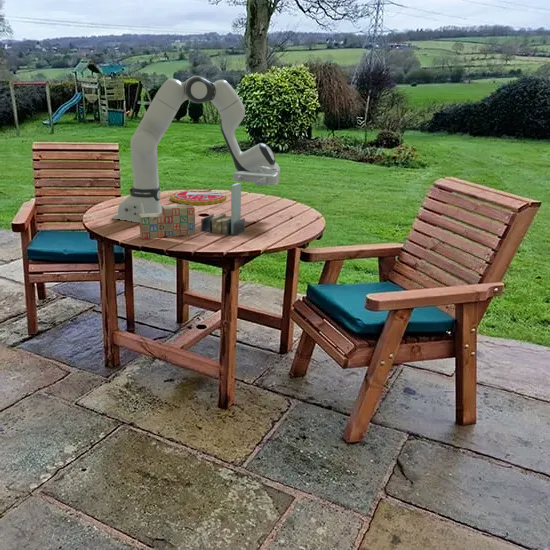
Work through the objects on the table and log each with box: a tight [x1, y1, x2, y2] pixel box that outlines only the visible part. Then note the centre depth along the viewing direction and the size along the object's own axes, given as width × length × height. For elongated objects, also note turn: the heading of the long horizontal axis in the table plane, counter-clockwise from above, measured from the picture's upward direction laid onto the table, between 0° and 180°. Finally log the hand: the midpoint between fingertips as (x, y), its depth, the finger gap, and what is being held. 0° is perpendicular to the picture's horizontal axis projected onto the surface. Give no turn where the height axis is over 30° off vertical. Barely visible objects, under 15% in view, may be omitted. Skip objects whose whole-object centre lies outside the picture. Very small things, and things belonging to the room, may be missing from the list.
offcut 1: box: [212, 213, 227, 234], centre depth 222 cm, size 2×9×6 cm, turn 159°
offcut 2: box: [215, 215, 231, 235], centre depth 221 cm, size 2×10×5 cm, turn 159°
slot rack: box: [200, 213, 248, 237], centre depth 221 cm, size 17×11×6 cm, turn 69°
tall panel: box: [230, 182, 242, 234], centre depth 217 cm, size 2×6×20 cm, turn 159°
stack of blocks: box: [139, 204, 196, 240], centre depth 213 cm, size 21×6×12 cm, turn 111°
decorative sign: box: [169, 189, 228, 206], centre depth 284 cm, size 30×3×30 cm
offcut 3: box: [222, 215, 231, 234], centre depth 220 cm, size 2×8×6 cm, turn 159°
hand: (248, 180), depth 224 cm, fingers open, 8 cm apart
